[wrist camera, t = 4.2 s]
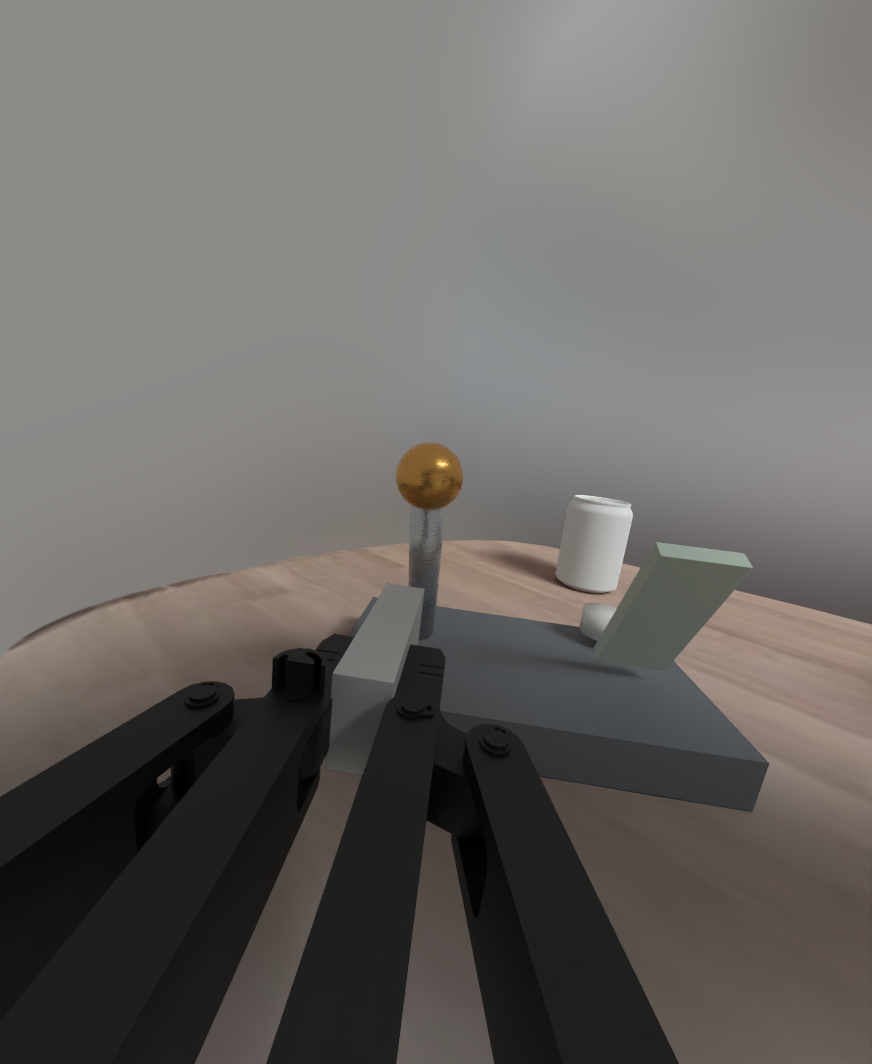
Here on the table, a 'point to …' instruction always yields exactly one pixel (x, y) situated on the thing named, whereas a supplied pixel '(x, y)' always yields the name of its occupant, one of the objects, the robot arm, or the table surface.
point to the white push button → (595, 619)
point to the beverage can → (593, 543)
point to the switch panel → (590, 710)
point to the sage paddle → (669, 604)
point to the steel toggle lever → (427, 516)
